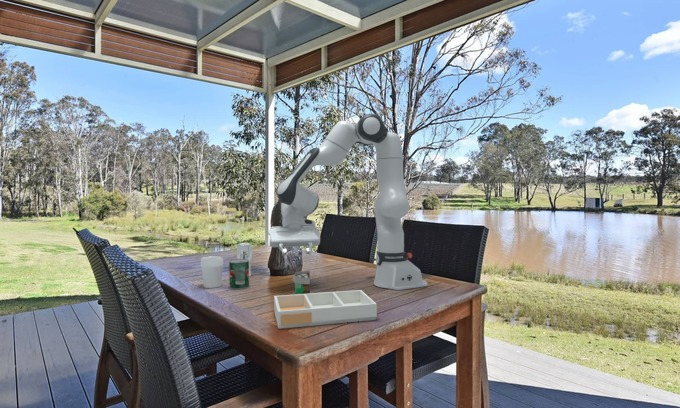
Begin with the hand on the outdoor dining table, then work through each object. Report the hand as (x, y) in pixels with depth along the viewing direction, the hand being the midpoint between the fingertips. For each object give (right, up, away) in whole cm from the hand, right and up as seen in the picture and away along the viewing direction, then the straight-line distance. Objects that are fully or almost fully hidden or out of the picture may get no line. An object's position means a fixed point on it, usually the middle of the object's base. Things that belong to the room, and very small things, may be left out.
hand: (296, 253), depth 147 cm
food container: (+3, -16, -11) cm, 20 cm away
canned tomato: (-25, -15, +10) cm, 31 cm away
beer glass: (-28, -14, +30) cm, 43 cm away
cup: (-36, -15, +11) cm, 41 cm away
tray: (+12, -16, -26) cm, 33 cm away
